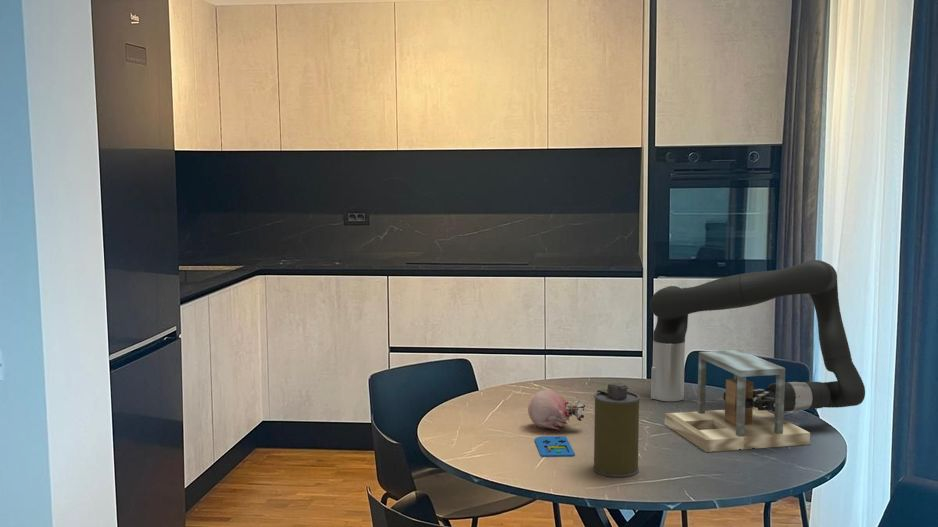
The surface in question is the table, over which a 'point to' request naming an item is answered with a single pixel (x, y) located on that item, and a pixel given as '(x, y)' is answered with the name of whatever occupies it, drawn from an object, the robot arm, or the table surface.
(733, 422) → the walnut block
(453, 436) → the table surface
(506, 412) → the table surface
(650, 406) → the table surface
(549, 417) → the toy
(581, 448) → the table surface
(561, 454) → the handheld gaming device
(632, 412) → the canister
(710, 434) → the tunnel deck
